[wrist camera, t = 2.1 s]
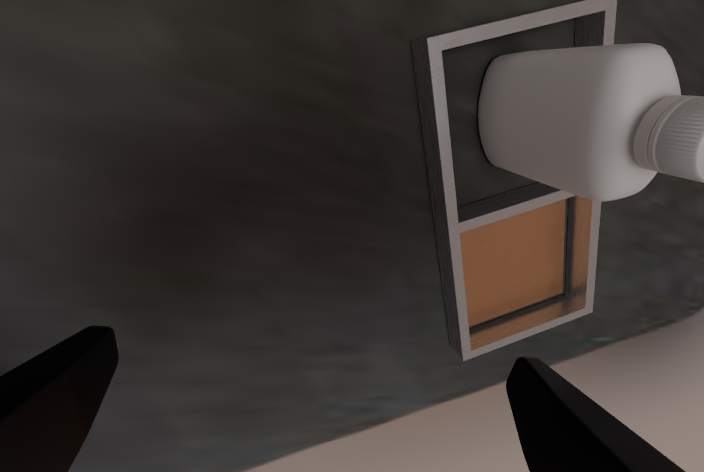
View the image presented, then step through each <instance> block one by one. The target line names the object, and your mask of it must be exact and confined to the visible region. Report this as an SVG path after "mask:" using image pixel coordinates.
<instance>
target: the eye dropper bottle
mask: <svg viewBox="0 0 704 472" xmlns="http://www.w3.org/2000/svg"><path fill="white" fill-rule="evenodd" d="M478 126H479V134H480V139H481V142H482V146H483V149H484V152H485V154H486V156H487V158H488V160H489V161H490V162H491V163H492V164H493V165H494V166H497V167H499V168H502V169H505V170H507V171H510V172H513V173H516V174H518V175H521V176H524V177H527V178H529V179H532V180H535V181H538V182H540V183H543V184H546V185H549V186H552V187H554V188H557V189H560V190H563V191H566V192H568V193H571V194H575V195H578V196H581V197H584V198H587V199H590V200H595V201H611V200H616V199H621V198H624V197H628V196H631V195H633V194H636V193H637V192H639V191H641V190H642V189H643V188H644V187H646V185H647V184H648V183H649V182H650V181H651V180H652V179H653V177H654V176H655V175H656V173H657V172H660V173H665V174H669V175H673V176H677V177H681V178H686V179H690V180H694V181H698V182H703V183H704V97H702V96H682V95H681V91H680V86H679V81H678V77H677V74H676V70H675V67H674V64H673V62H672V59H671V57H670V56H669V54H668V53H667V51H666V50H665V49H664V48H663V47H661V46H659V45H655V44H650V43H636V44H617V45H603V46H589V47H575V48H562V49H549V50H536V51H524V52H517V53H512V54H506V55H501V56H499V57H497V58H495V59H494V60H493V61H492V62H491V64H490V65H489V66H488V69H487V71H486V74H485V77H484V80H483V84H482V88H481V93H480V98H479V106H478Z"/></svg>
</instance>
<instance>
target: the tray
mask: <svg viewBox="0 0 704 472" xmlns="http://www.w3.org/2000/svg"><path fill="white" fill-rule="evenodd" d="M616 6H617V0H582V1H577V2H573V3H569V4H565V5H561V6H557V7H552V8H548V9H544V10H540V11H536V12H531V13H527V14H523V15H519V16H515V17H511V18H506V19H502V20H498V21H494V22H490V23H485V24H481V25H477V26H473V27H469V28H465V29H460V30H456V31H452V32H448V33H444V34H439V35H435V36H431V37H427V38H423V39H419V40H414V41H411V49H412V57H413V64H414V72H415V80H416V88H417V95H418V103H419V111H420V119H421V126H422V134H423V142H424V149H425V157H426V165H427V173H428V180H429V188H430V196H431V204H432V211H433V219H434V227H435V235H436V242H437V250H438V258H439V266H440V273H441V281H442V289H443V297H444V304H445V312H446V320H447V328H448V335H449V343H450V345H451V346H452V347H453V349H454V350H455V351H456V353H457V354H458V355H459V356H460V358H461V359H462V360H463V361H465V360H468V359H471V358H473V357H476V356H478V355H481V354H484V353H486V352H489V351H492V350H494V349H497V348H500V347H502V346H505V345H507V344H510V343H513V342H515V341H518V340H521V339H523V338H526V337H528V336H531V335H534V334H536V333H539V332H542V331H544V330H547V329H550V328H552V327H555V326H557V325H560V324H563V323H565V322H568V321H571V320H573V319H576V318H578V317H581V316H584V315H586V314H589V313H592V312H593V299H594V286H595V273H596V261H597V248H598V235H599V223H600V210H601V201H595V200H590V199H587V198H584V197H581V196H578V195H575V194H571V193H568V192H566V191H563V190H560V189H557V188H554V187H552V186H549V185H546V184H543V183H540V182H537V183H534V184H531V185H528V186H525V187H521V188H518V189H515V190H512V191H509V192H506V193H502V194H499V195H496V196H493V197H490V198H486V199H483V200H480V201H477V202H474V203H471V204H467V205H464V206H461V207H458V208H457V203H456V193H455V183H454V173H453V162H452V152H451V142H450V132H449V122H448V112H447V101H446V91H445V81H444V71H443V61H442V51H441V50H446V49H450V48H454V47H458V46H462V45H466V44H470V43H474V42H478V41H482V40H486V39H490V38H494V37H498V36H502V35H506V34H511V33H515V32H519V31H523V30H527V29H531V28H535V27H539V26H543V25H547V24H551V23H555V22H559V21H563V20H567V19H571V18H576V19H575V45H574V48H575V47H589V46H603V45H613V44H614V31H615V19H616ZM566 198H569V201H568V227H567V253H566V279H565V294H564V295H561V296H558V297H555V298H553V299H550V300H547V301H545V302H542V303H539V304H536V305H534V306H531V307H528V308H525V309H523V310H520V311H517V312H515V313H512V314H509V315H506V316H504V317H501V318H498V319H496V320H493V321H490V322H487V323H485V324H482V325H479V326H476V327H474V328H471V329H469V327H470V326H472V325H475V324H478V323H481V322H483V321H486V320H489V319H492V318H494V317H497V316H500V315H503V314H505V313H508V312H511V311H513V310H516V309H519V308H522V307H524V306H527V305H530V304H533V303H535V302H538V301H541V300H543V299H546V298H549V297H552V296H554V295H557V294H560V293H562V286H563V257H564V228H565V200H566Z"/></svg>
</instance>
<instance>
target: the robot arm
mask: <svg viewBox="0 0 704 472" xmlns="http://www.w3.org/2000/svg"><path fill="white" fill-rule="evenodd" d="M118 359H119V356H118V349H117V344H116V339H115V333H114V330H113V329H112V328H111V327H106V326H89V327H87V328H85V329H83V330H81V331H80V332H78V333H76V334H74V335H72V336H71V337H69V338H67V339H65V340H64V341H62V342H60V343H58V344H57V345H55V346H53V347H51V348H49V349H48V350H46V351H44V352H42V353H41V354H39V355H37V356H35V357H34V358H32V359H30V360H28V361H26V362H25V363H23V364H21V365H19V366H18V367H16V368H14V369H12V370H11V371H9V372H7V373H5V374H3V375H2V376H0V472H68V470H69V469H70V467H71V465H72V463H73V461H74V460H75V458H76V456H77V454H78V452H79V451H80V449H81V447H82V445H83V443H84V441H85V439H86V437H87V435H88V433H89V431H90V428H91V426H92V424H93V422H94V419H95V417H96V414H97V412H98V410H99V407H100V405H101V403H102V400H103V398H104V396H105V393H106V391H107V389H108V386H109V384H110V382H111V379H112V377H113V375H114V372H115V370H116V367H117V364H118ZM506 390H507V395H508V398H509V402H510V406H511V409H512V413H513V417H514V421H515V424H516V428H517V432H518V436H519V440H520V443H521V447H522V450H523V454H524V457H525V459H526V462H527V465H528V468H529V471H530V472H685V471H684V470H683V469H681V468H680V467H679V466H677V465H676V464H675V463H674V462H672V461H671V460H670V459H668V458H667V457H666V456H664V455H663V454H662V453H661V452H659V451H658V450H657V449H655V448H654V447H653V446H651V445H650V444H649V443H648V442H646V441H645V440H644V439H642V438H641V437H640V436H638V435H637V434H636V433H634V432H633V431H632V430H630V429H629V428H628V427H627V426H625V425H624V424H623V423H622V422H620V421H619V420H618V419H616V418H615V417H614V416H612V415H611V414H610V413H608V412H607V411H606V410H604V409H603V408H602V407H601V406H599V405H598V404H597V403H595V402H594V401H593V400H592V399H590V398H589V397H588V396H586V395H585V394H584V393H582V392H581V391H580V390H579V389H577V388H576V387H575V386H573V385H572V384H571V383H569V382H568V381H567V380H566V379H564V378H563V377H562V376H560V375H559V374H558V373H556V372H555V371H554V370H553V369H551V368H550V367H549V366H547V365H546V364H545V363H543V362H542V361H541V360H539V359H538V358H535V357H525V356H521V357H519V358H517V360H516V361H515V364H514V366H513V368H512V370H511V372H510V374H509V377H508V379H507V382H506Z"/></svg>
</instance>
